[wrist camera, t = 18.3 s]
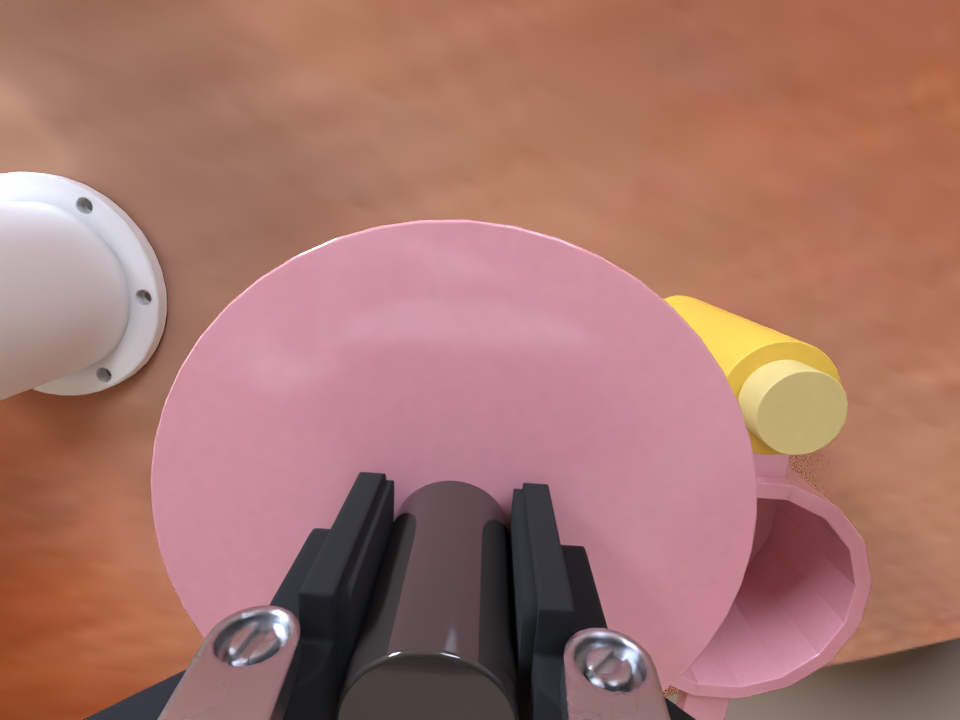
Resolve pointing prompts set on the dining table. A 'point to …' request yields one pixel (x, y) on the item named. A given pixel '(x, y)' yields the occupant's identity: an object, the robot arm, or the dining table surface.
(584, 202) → the dining table surface
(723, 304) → the dining table surface
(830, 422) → the yellow stepped cylinder
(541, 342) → the lid
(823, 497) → the pot
